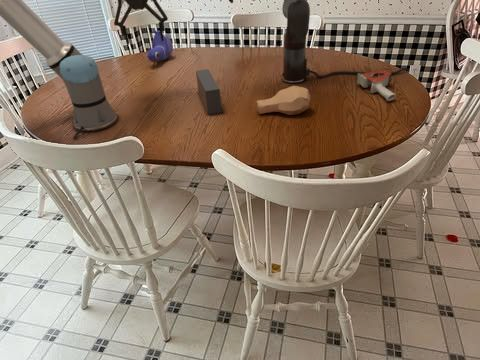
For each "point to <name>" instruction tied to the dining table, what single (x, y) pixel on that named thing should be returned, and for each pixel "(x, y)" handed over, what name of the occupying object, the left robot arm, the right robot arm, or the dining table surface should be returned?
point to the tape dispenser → (377, 83)
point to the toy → (160, 48)
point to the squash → (286, 101)
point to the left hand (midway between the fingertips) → (145, 41)
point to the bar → (208, 91)
